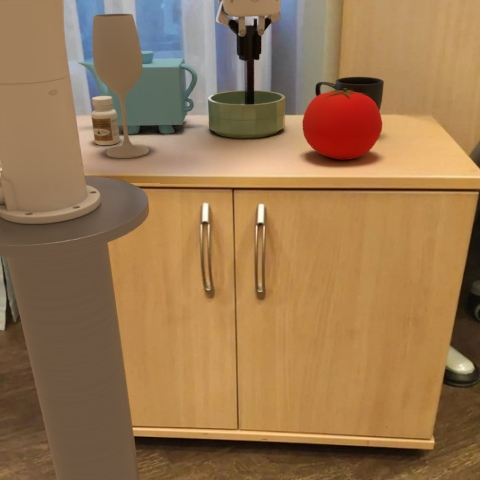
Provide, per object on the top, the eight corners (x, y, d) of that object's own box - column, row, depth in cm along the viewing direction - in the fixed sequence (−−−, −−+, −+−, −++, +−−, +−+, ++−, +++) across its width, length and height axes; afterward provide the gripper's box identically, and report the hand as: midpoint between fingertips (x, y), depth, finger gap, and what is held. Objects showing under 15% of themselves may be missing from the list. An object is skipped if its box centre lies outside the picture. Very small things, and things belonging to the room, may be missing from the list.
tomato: (391, 160, 95) (399, 90, 90) (325, 171, 91) (329, 98, 86) (351, 143, 104) (355, 79, 99) (289, 153, 100) (290, 86, 94)
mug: (323, 126, 115) (326, 74, 111) (384, 133, 110) (390, 78, 105) (306, 136, 109) (308, 81, 104) (370, 143, 104) (375, 86, 99)
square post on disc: (242, 122, 111) (241, 26, 103) (234, 117, 114) (232, 25, 106) (264, 119, 112) (265, 25, 104) (256, 115, 116) (255, 23, 108)
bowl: (224, 142, 106) (223, 107, 103) (199, 125, 118) (198, 93, 115) (297, 134, 110) (298, 100, 107) (266, 118, 122) (266, 87, 119)
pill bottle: (90, 144, 106) (84, 99, 103) (102, 138, 110) (97, 94, 106) (112, 146, 105) (107, 100, 101) (124, 140, 109) (119, 95, 105)
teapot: (201, 120, 122) (198, 46, 115) (197, 133, 112) (193, 54, 105) (93, 122, 122) (83, 48, 115) (79, 135, 112) (68, 56, 106)
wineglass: (134, 160, 97) (119, 17, 87) (95, 155, 100) (77, 16, 90) (158, 148, 103) (147, 13, 93) (121, 144, 106) (107, 12, 96)
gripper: (210, -61, 94) (214, 65, 103) (301, -61, 98) (297, 59, 107) (196, -59, 100) (201, 59, 109) (282, -59, 105) (280, 54, 114)
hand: (249, 58), depth 108 cm, fingers closed on square post on disc, 1 cm apart
